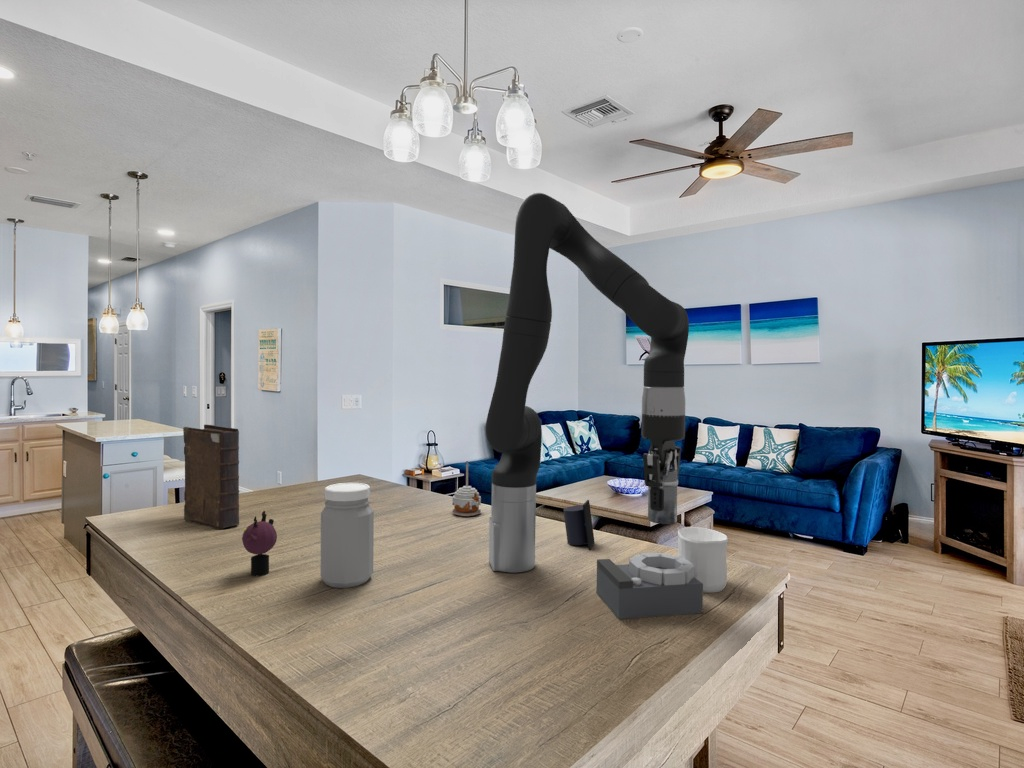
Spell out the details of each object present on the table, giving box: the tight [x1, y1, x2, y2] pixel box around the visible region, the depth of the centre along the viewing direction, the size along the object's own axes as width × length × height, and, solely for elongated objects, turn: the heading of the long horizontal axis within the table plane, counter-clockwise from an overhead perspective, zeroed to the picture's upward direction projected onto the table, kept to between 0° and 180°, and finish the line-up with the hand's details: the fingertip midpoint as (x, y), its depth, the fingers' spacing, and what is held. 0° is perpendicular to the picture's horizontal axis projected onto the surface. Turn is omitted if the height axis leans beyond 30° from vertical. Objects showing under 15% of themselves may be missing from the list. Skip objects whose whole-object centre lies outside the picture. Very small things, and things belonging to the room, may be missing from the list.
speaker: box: [563, 499, 596, 551], centre depth 133 cm, size 8×6×10 cm
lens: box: [647, 469, 679, 525], centre depth 101 cm, size 5×5×9 cm
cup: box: [676, 526, 729, 594], centre depth 109 cm, size 10×10×10 cm
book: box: [182, 424, 240, 530], centre depth 146 cm, size 17×7×25 cm, turn 54°
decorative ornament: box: [452, 460, 482, 517], centre depth 159 cm, size 8×8×15 cm
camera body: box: [595, 552, 704, 620], centre depth 100 cm, size 15×11×7 cm
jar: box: [320, 482, 375, 589], centre depth 108 cm, size 10×10×18 cm
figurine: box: [241, 510, 278, 577], centre depth 111 cm, size 8×8×12 cm
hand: (662, 506), depth 101 cm, fingers closed on lens, 5 cm apart
